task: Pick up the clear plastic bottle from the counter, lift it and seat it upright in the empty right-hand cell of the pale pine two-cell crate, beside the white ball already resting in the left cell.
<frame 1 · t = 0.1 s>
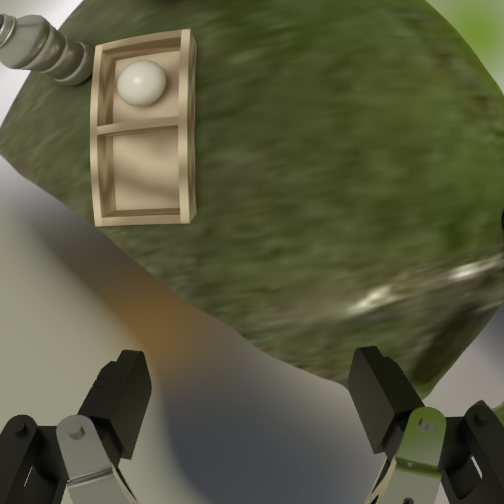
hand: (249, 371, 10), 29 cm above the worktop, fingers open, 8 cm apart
white ball: (148, 88, 32), point 1 cm above the worktop, touching crate
plastic bottle: (82, 68, 31), on the worktop
crate: (149, 128, 34), on the worktop
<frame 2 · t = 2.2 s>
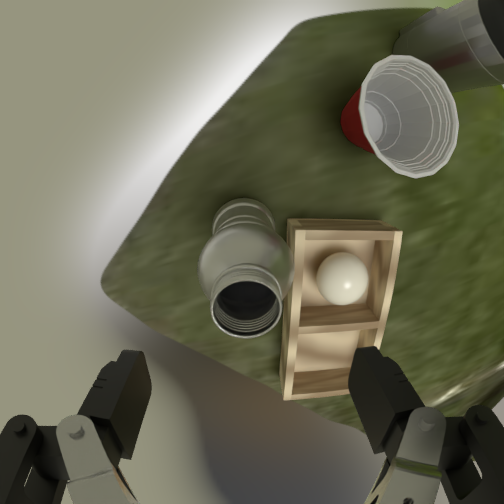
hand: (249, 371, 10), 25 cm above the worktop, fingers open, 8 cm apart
plastic cup: (363, 125, 31), on the worktop
white ball: (334, 269, 35), point 1 cm above the worktop, touching crate
plastic bottle: (243, 222, 34), on the worktop
crate: (328, 305, 38), on the worktop
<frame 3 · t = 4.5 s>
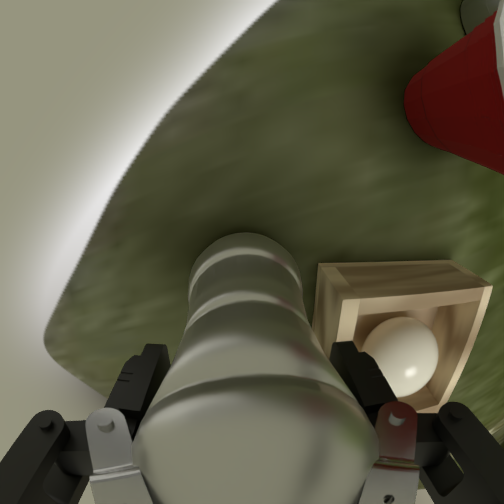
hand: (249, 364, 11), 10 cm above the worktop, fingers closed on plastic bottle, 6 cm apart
plastic cup: (434, 112, 17), on the worktop
white ball: (384, 335, 21), point 1 cm above the worktop, touching crate
plastic bottle: (244, 270, 20), on the worktop, touching gripper
crate: (367, 379, 24), on the worktop
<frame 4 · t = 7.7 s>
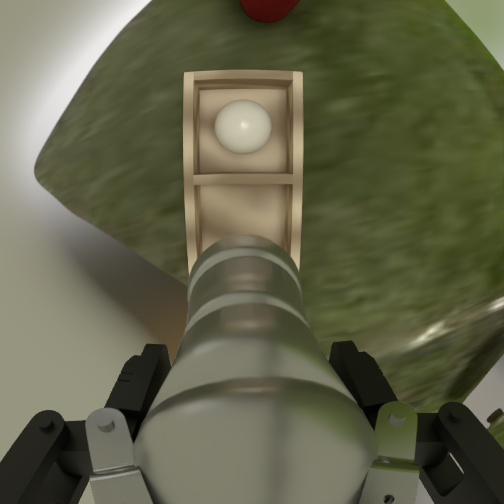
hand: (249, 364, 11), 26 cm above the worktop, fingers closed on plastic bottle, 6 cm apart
plastic cup: (267, 7, 28), on the worktop
white ball: (242, 129, 32), point 1 cm above the worktop, touching crate
plastic bottle: (244, 271, 20), point 17 cm above the worktop, touching gripper
crate: (243, 175, 34), on the worktop
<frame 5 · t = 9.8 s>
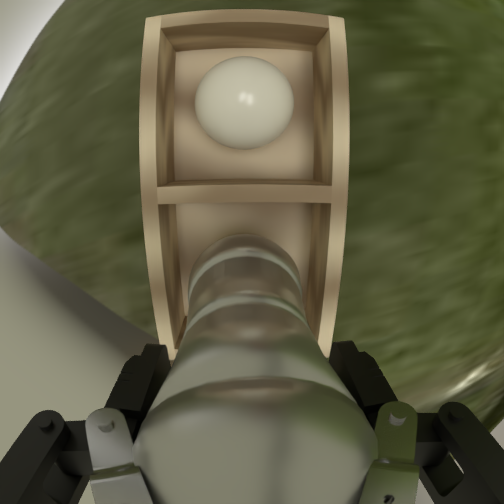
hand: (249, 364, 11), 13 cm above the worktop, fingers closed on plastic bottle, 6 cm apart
white ball: (243, 110, 19), point 1 cm above the worktop, touching crate
plastic bottle: (244, 271, 20), point 3 cm above the worktop, touching gripper
crate: (243, 184, 22), on the worktop
when the fingers open (12 cm above the worktop, at t = 11.3 s): plastic bottle drops 1 cm, resting on crate.
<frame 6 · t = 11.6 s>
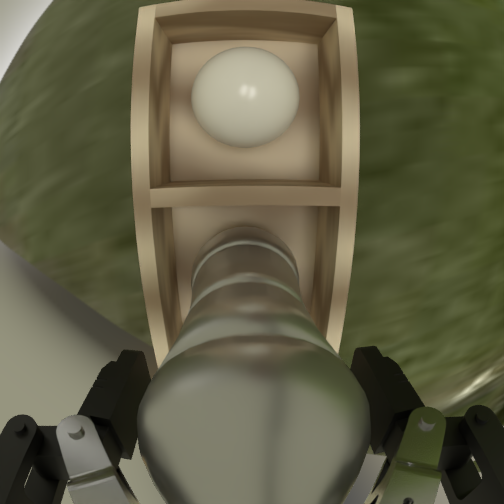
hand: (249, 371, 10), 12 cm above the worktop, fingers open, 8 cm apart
white ball: (244, 105, 18), point 1 cm above the worktop, touching crate
plastic bottle: (244, 263, 21), point 1 cm above the worktop, touching crate
crate: (244, 185, 20), on the worktop
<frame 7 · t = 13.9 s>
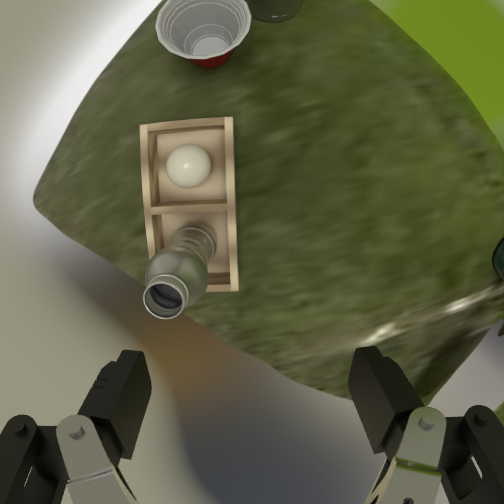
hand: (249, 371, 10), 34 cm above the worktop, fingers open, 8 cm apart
plastic cup: (212, 53, 36), on the worktop
white ball: (192, 165, 40), point 1 cm above the worktop, touching crate
plastic bottle: (196, 240, 43), point 1 cm above the worktop, touching crate
crate: (194, 203, 42), on the worktop
coffee jar: (502, 257, 47), on the worktop
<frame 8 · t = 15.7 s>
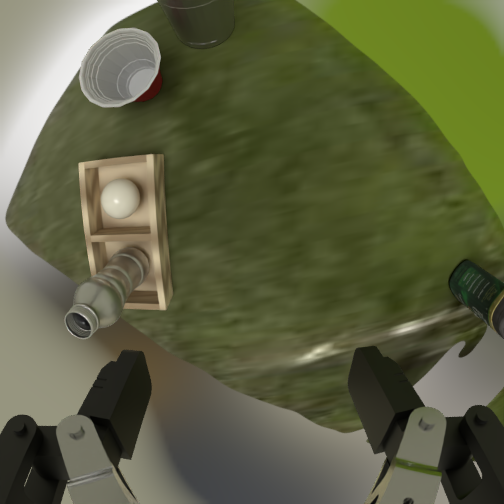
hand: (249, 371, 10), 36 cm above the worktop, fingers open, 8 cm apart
plastic cup: (146, 85, 38), on the worktop
white ball: (127, 195, 43), point 1 cm above the worktop, touching crate
plastic bottle: (134, 261, 46), point 1 cm above the worktop, touching crate
crate: (132, 228, 45), on the worktop
coffee jar: (462, 280, 51), on the worktop
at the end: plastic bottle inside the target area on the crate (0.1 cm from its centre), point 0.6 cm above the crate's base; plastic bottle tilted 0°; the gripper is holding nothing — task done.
